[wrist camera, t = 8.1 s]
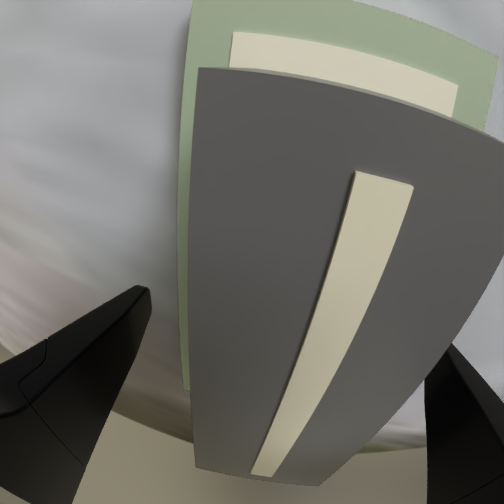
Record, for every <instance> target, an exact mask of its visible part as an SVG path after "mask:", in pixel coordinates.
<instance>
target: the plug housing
mask: <svg viewBox="0 0 504 504" xmlns="http://www.w3.org/2000/svg"><path fill="white" fill-rule="evenodd" d="M503 255H504V142H502V141H500V140H498V139H496V138H494V137H492V136H490V135H488V134H486V133H484V132H482V131H480V130H478V129H476V128H473V127H471V126H469V125H467V124H465V123H462V122H460V121H458V120H456V119H453V118H451V117H448V116H446V115H444V114H441V113H439V112H436V111H434V110H431V109H428V108H425V107H423V106H420V105H417V104H414V103H411V102H408V101H405V100H401V99H398V98H395V97H392V96H388V95H385V94H381V93H378V92H374V91H371V90H367V89H363V88H359V87H355V86H351V85H347V84H343V83H338V82H334V81H329V80H324V79H319V78H314V77H309V76H304V75H298V74H292V73H286V72H279V71H272V70H265V69H257V68H235V67H198V76H197V86H196V97H195V109H194V122H193V136H192V151H191V169H190V190H189V217H188V279H187V288H188V350H189V376H190V397H191V414H192V429H193V442H194V454H195V466H196V468H200V469H204V470H209V471H213V472H218V473H223V474H227V475H233V476H238V477H244V478H249V479H256V480H263V481H269V482H270V481H271V482H278V483H286V484H296V485H307V486H319V485H320V484H322V482H324V481H325V480H326V479H327V478H329V477H330V476H331V475H332V474H333V473H335V472H336V471H337V470H338V469H339V468H340V467H341V466H343V465H344V464H345V463H346V462H347V461H348V460H349V459H350V458H351V457H352V456H354V455H355V454H356V453H357V452H358V451H359V450H360V449H361V448H362V447H363V446H364V445H365V444H366V443H367V442H368V441H369V440H370V439H371V438H372V437H373V436H374V435H375V434H376V433H377V432H378V431H379V430H380V429H381V428H382V427H383V426H384V425H385V424H386V423H387V422H388V421H389V420H390V418H391V417H392V416H393V415H394V414H395V413H396V412H397V411H398V410H399V409H400V407H401V406H402V405H403V404H404V403H405V402H406V401H407V399H408V398H409V397H410V396H411V395H412V394H413V392H414V391H415V390H416V389H417V388H418V386H419V385H420V384H421V383H422V381H423V380H424V379H425V378H426V376H427V375H428V374H429V373H430V371H431V370H432V369H433V367H434V366H435V365H436V363H437V362H438V361H439V359H440V358H441V357H442V355H443V354H444V353H445V351H446V350H447V348H448V347H449V346H450V344H451V343H452V341H453V340H454V338H455V337H456V336H457V334H458V333H459V331H460V330H461V328H462V327H463V325H464V324H465V322H466V320H467V319H468V317H469V316H470V314H471V313H472V311H473V309H474V308H475V306H476V304H477V303H478V301H479V299H480V298H481V296H482V294H483V293H484V291H485V289H486V287H487V286H488V284H489V282H490V280H491V278H492V276H493V275H494V273H495V271H496V269H497V267H498V265H499V263H500V261H501V259H502V257H503Z"/></svg>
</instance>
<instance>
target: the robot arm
mask: <svg viewBox="0 0 504 504" xmlns="http://www.w3.org/2000/svg"><path fill="white" fill-rule="evenodd" d="M151 311H152V305H151V296H150V290H149V288H148V287H144V286H140V285H135V286H133V287H132V288H130V289H128V290H126V291H125V292H123V293H121V294H120V295H118V296H116V297H114V298H113V299H111V300H109V301H108V302H106V303H104V304H103V305H101V306H99V307H97V308H96V309H94V310H92V311H91V312H89V313H87V314H86V315H84V316H82V317H81V318H79V319H77V320H76V321H74V322H72V323H71V324H69V325H67V326H66V327H64V328H62V329H61V330H59V331H58V332H56V333H54V334H53V335H51V336H49V337H48V339H44V340H43V341H41V342H39V343H38V344H36V345H34V346H33V347H31V348H29V349H28V350H26V351H24V352H22V353H20V354H18V355H17V356H15V357H13V358H11V359H9V360H7V361H5V362H3V363H1V364H0V504H72V502H73V499H74V497H75V494H76V492H77V489H78V487H79V484H80V482H81V479H82V477H83V474H84V472H85V469H86V466H87V464H88V462H89V459H90V457H91V455H92V452H93V450H94V448H95V445H96V443H97V440H98V438H99V436H100V433H101V431H102V429H103V427H104V425H105V422H106V420H107V418H108V416H109V413H110V411H111V409H112V407H113V404H114V402H115V400H116V398H117V396H118V394H119V391H120V389H121V387H122V385H123V383H124V381H125V379H126V376H127V374H128V372H129V370H130V368H131V366H132V364H133V362H134V360H135V357H136V355H137V352H138V349H139V347H140V344H141V341H142V338H143V335H144V332H145V329H146V327H147V324H148V321H149V318H150V316H151ZM424 403H425V418H426V435H427V468H428V470H427V473H428V474H427V476H428V477H427V478H428V479H427V504H504V403H503V402H502V401H501V399H500V398H499V397H498V396H497V394H496V393H495V392H494V391H493V390H492V388H491V387H490V386H489V385H488V384H487V382H486V381H485V380H484V379H483V378H482V377H481V375H480V374H479V373H478V372H477V371H476V370H475V369H474V367H473V366H472V365H471V364H470V363H469V362H468V361H467V359H466V358H465V357H464V356H463V355H462V354H461V353H460V352H459V350H458V349H457V348H456V347H455V346H454V345H453V344H452V343H451V344H450V346H449V347H448V348H447V350H446V351H445V353H444V354H443V355H442V357H441V358H440V359H439V361H438V362H437V363H436V365H435V366H434V367H433V369H432V370H431V371H430V373H429V374H428V375H427V376H426V378H425V379H424Z"/></svg>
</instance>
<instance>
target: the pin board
mask: <svg viewBox="0 0 504 504" xmlns="http://www.w3.org/2000/svg"><path fill="white" fill-rule="evenodd" d="M497 63H498V57H496V56H494V55H493V54H491V53H489V52H487V51H485V50H483V49H481V48H479V47H477V46H475V45H473V44H471V43H469V42H467V41H465V40H463V39H461V38H459V37H457V36H454V35H452V34H450V33H448V32H445V31H443V30H441V29H438V28H436V27H433V26H431V25H428V24H426V23H423V22H420V21H418V20H415V19H412V18H409V17H406V16H404V15H401V14H398V13H394V12H391V11H388V10H385V9H381V8H378V7H374V6H371V5H367V4H363V3H359V2H355V1H351V0H193V3H192V10H191V18H190V26H189V34H188V43H187V52H186V61H185V72H184V83H183V95H182V109H181V124H180V142H179V164H178V198H177V275H178V309H179V331H180V349H181V365H182V379H183V390H186V391H190V376H189V350H188V288H187V279H188V217H189V190H190V169H191V151H192V136H193V122H194V109H195V97H196V86H197V76H198V67H235V68H257V69H265V70H272V71H279V72H286V73H292V74H298V75H304V76H309V77H314V78H319V79H324V80H329V81H334V82H338V83H343V84H347V85H351V86H355V87H359V88H363V89H367V90H371V91H374V92H378V93H381V94H385V95H388V96H392V97H395V98H398V99H401V100H405V101H408V102H411V103H414V104H417V105H420V106H423V107H425V108H428V109H431V110H434V111H436V112H439V113H441V114H444V115H446V116H448V117H451V118H453V119H456V120H458V121H460V122H462V123H465V124H467V125H469V126H471V127H473V128H476V129H478V130H480V131H482V132H483V131H484V127H485V123H486V119H487V115H488V110H489V106H490V101H491V97H492V92H493V87H494V81H495V76H496V70H497Z"/></svg>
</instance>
